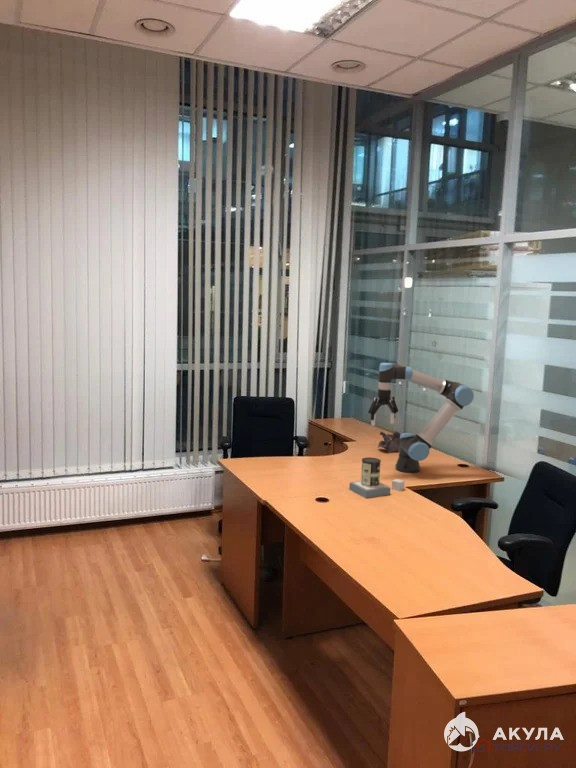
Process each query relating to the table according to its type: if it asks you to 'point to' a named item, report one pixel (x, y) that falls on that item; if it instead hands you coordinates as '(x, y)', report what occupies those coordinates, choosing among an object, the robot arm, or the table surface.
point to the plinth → (369, 490)
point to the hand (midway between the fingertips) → (382, 424)
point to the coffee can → (370, 472)
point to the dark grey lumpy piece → (390, 441)
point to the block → (398, 484)
